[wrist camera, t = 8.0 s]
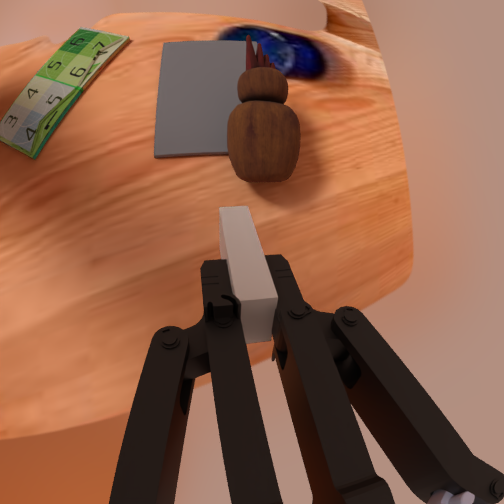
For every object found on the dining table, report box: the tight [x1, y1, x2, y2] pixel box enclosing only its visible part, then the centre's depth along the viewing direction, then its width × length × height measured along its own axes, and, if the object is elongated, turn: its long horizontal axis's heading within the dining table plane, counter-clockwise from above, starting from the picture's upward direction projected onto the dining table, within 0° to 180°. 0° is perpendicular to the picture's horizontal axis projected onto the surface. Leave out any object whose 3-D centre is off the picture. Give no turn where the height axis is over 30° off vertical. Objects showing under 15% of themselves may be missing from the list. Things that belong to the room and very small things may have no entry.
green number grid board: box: [0, 27, 130, 160], centre depth 28 cm, size 20×1×10 cm
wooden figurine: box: [227, 35, 300, 182], centre depth 26 cm, size 7×6×15 cm
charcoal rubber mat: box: [154, 41, 257, 158], centre depth 30 cm, size 17×12×1 cm
